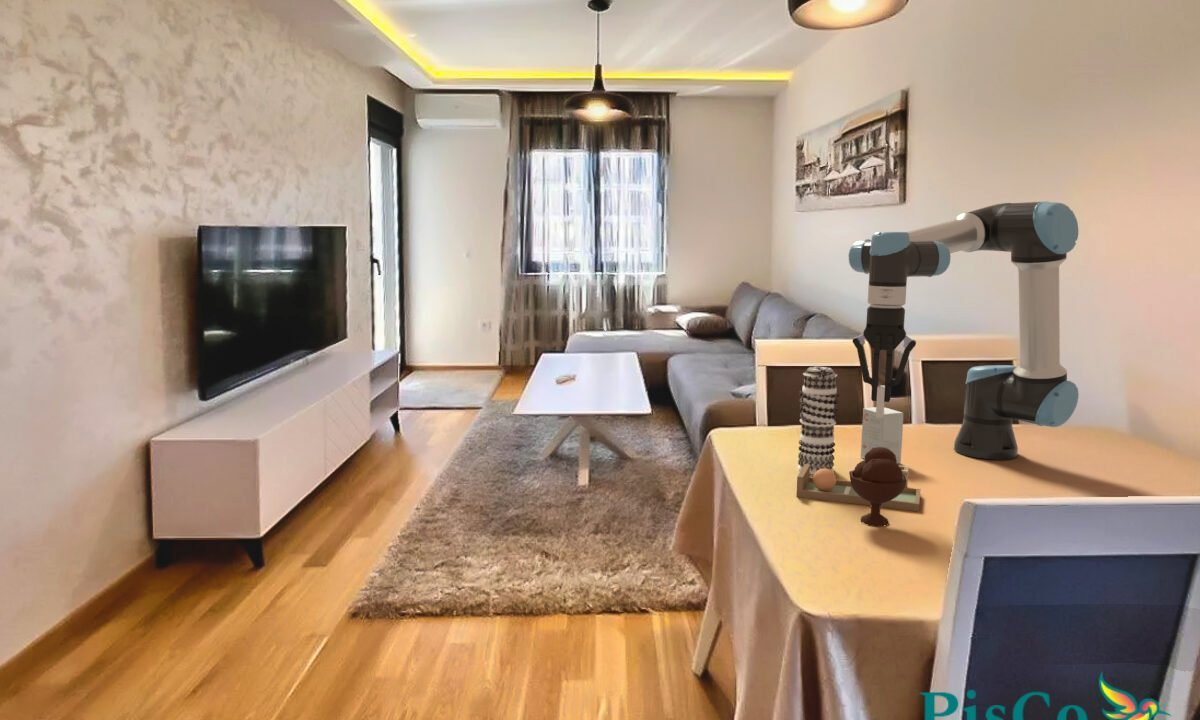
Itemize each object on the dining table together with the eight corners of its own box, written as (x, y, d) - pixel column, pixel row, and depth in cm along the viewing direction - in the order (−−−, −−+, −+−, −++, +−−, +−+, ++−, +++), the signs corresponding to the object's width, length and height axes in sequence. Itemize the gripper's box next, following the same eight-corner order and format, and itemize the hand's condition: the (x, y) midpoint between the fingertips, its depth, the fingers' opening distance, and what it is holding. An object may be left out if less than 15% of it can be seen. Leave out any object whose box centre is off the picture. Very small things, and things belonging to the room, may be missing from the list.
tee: (907, 486, 191) (908, 466, 190) (906, 492, 187) (908, 471, 186) (887, 484, 193) (888, 464, 192) (885, 489, 189) (887, 469, 188)
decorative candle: (816, 477, 198) (821, 372, 194) (788, 467, 206) (792, 366, 202) (843, 471, 203) (848, 369, 199) (814, 462, 210) (819, 363, 207)
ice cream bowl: (837, 513, 173) (841, 442, 170) (890, 512, 174) (894, 441, 171) (857, 531, 162) (862, 456, 160) (913, 530, 163) (918, 455, 161)
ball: (827, 490, 188) (843, 477, 186) (822, 499, 184) (838, 485, 181) (811, 474, 189) (826, 460, 187) (805, 482, 185) (821, 468, 182)
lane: (920, 496, 184) (921, 476, 184) (918, 511, 174) (920, 490, 174) (803, 482, 193) (804, 463, 193) (796, 496, 183) (797, 476, 183)
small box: (901, 463, 210) (904, 412, 208) (880, 465, 208) (883, 414, 206) (880, 455, 218) (883, 406, 216) (859, 457, 215) (862, 407, 213)
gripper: (852, 306, 175) (846, 417, 179) (918, 308, 170) (911, 422, 174) (855, 303, 182) (849, 410, 186) (919, 305, 177) (912, 415, 181)
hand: (879, 416), depth 180 cm, fingers closed
